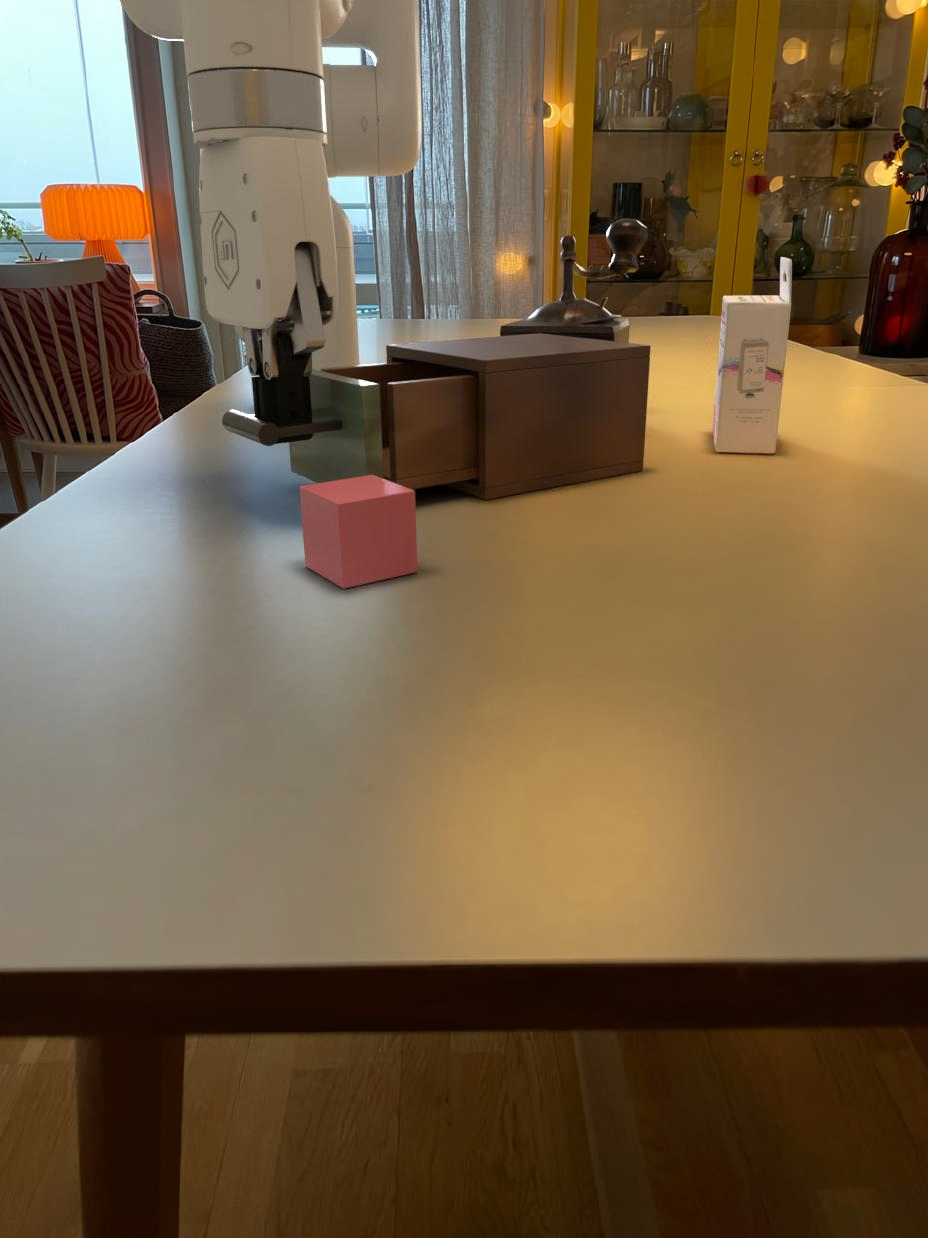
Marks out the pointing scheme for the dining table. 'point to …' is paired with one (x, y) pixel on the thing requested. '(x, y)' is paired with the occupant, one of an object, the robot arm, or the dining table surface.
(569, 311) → the manual coffee grinder
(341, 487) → the block
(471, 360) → the cabinet
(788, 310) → the ink cartridge box
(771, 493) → the dining table surface
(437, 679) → the dining table surface
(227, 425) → the drawer
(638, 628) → the dining table surface
